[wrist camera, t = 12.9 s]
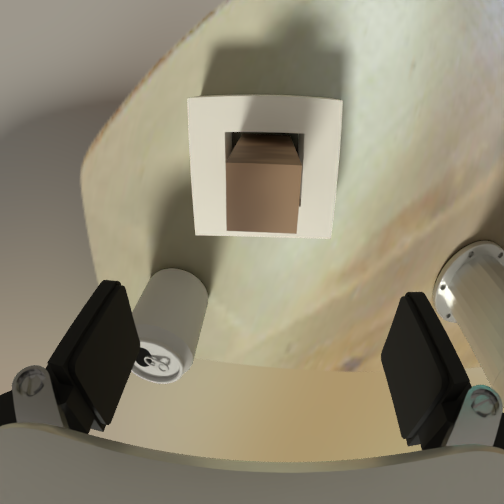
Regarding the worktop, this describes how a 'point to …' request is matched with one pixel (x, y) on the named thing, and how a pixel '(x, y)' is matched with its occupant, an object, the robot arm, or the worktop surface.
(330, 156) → the socket block
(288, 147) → the peg
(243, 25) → the worktop surface
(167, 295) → the can
